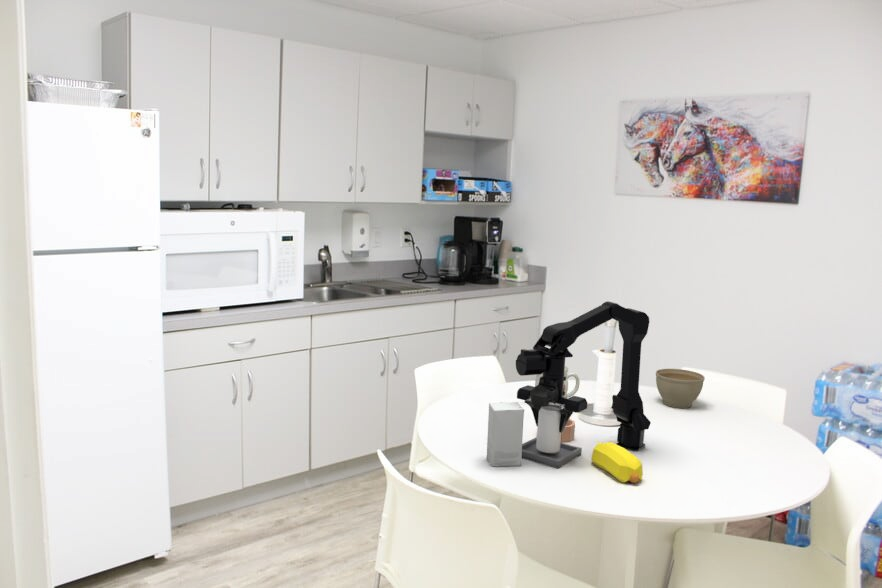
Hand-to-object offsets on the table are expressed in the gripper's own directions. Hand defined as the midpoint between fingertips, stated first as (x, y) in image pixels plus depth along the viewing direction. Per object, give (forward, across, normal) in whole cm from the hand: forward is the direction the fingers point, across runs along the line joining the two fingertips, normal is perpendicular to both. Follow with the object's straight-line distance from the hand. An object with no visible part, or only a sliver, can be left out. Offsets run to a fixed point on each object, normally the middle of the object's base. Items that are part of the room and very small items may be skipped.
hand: (549, 429), depth 201 cm
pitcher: (+8, -22, +44) cm, 50 cm away
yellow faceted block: (+8, +19, +2) cm, 21 cm away
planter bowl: (+8, +9, +77) cm, 78 cm away
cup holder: (+8, -6, +16) cm, 19 cm away
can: (+6, 0, 0) cm, 6 cm away
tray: (+7, 0, 0) cm, 7 cm away
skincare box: (+8, -6, -13) cm, 16 cm away
